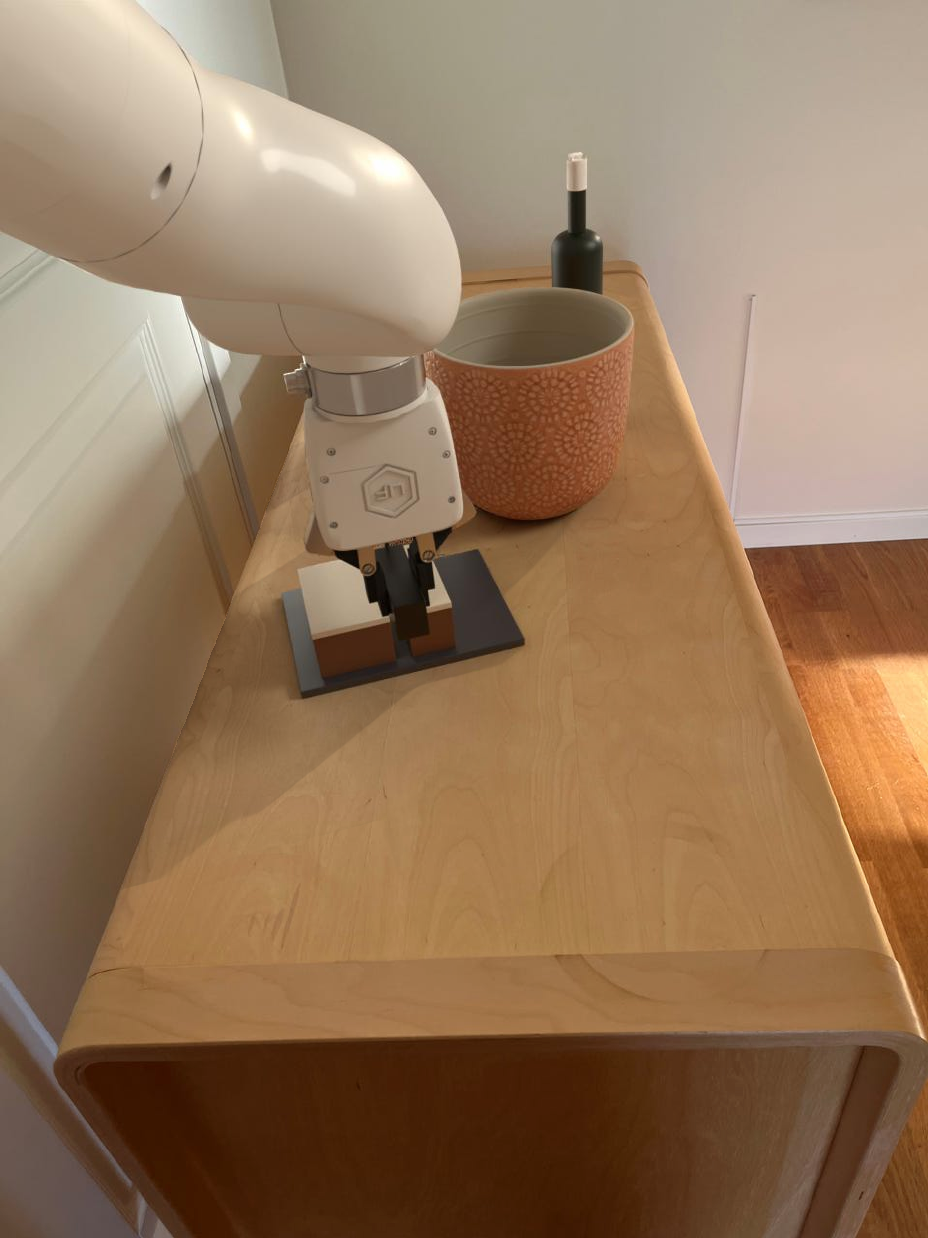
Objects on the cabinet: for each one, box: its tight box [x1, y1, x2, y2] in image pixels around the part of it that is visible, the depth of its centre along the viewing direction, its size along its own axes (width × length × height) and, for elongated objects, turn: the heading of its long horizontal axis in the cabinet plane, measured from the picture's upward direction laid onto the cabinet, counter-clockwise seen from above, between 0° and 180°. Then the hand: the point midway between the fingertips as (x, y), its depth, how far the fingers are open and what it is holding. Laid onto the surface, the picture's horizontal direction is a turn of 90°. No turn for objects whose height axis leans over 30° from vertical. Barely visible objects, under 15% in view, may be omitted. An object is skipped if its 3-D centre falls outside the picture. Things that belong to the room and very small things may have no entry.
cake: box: [280, 548, 526, 700], centre depth 84 cm, size 15×20×6 cm
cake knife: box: [374, 542, 430, 642], centre depth 74 cm, size 18×2×4 cm, turn 15°
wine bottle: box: [550, 151, 604, 296], centre depth 106 cm, size 6×6×30 cm
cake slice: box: [403, 543, 456, 657], centre depth 83 cm, size 10×4×5 cm, turn 15°
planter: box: [423, 286, 635, 521], centre depth 96 cm, size 21×21×19 cm
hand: (402, 599), depth 71 cm, fingers closed on cake knife, 2 cm apart
